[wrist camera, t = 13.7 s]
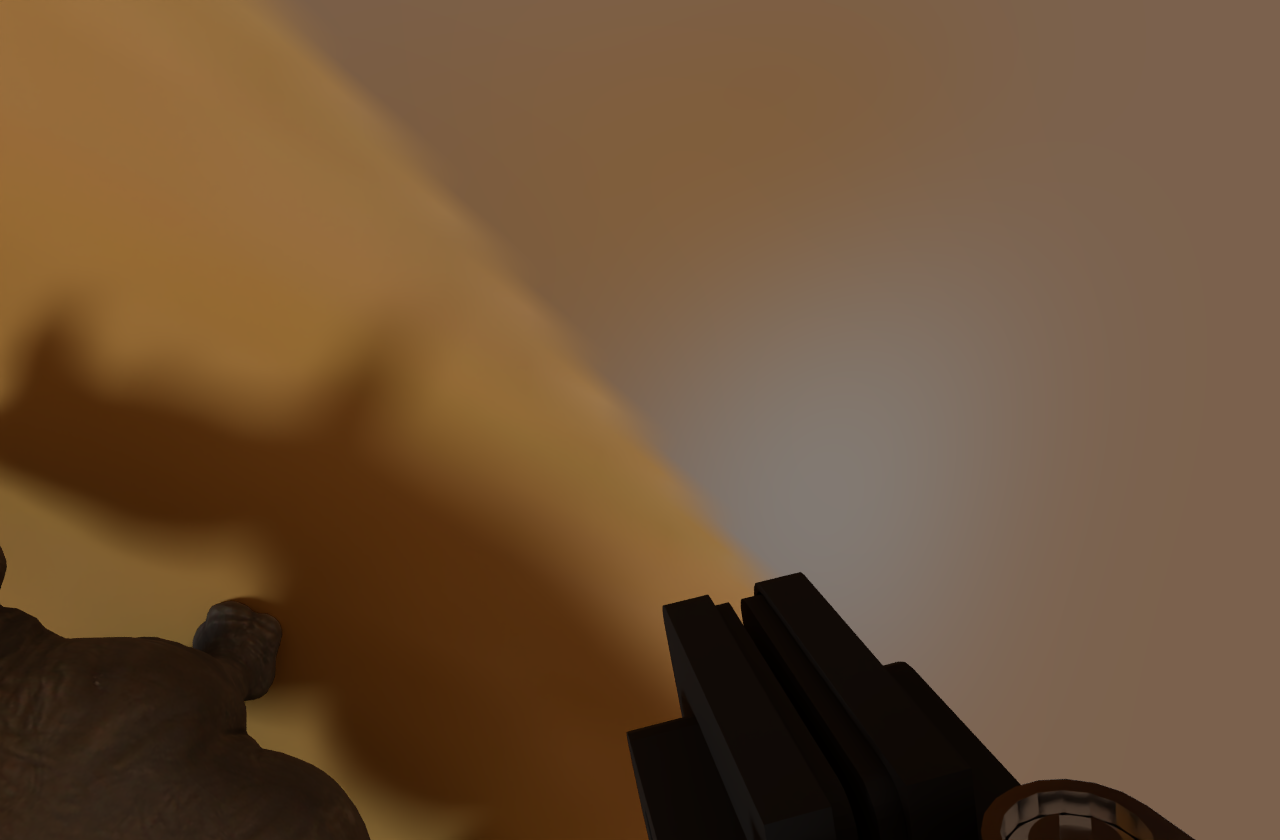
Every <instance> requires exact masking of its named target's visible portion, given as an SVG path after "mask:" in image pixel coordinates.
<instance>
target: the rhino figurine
mask: <svg viewBox="0 0 1280 840" xmlns="http://www.w3.org/2000/svg"><path fill="white" fill-rule="evenodd" d="M6 568H7V565H6V558H5V556H4V553H3V551H2V548H1V547H0V588H1V585H2V582H3V580H4V576H5V572H6ZM281 637H282V631H281V626H280V624H279V622H278V621H277V620H276V619H275V618H274V617H272V616H270V615H268V614H262V613H255V612H253V611H252V610H251V609H250V608H249V607H248V606H246V605H243V604H241V603H238V602H234V601H228V602H223V603H219V604H216V605H214V606H212V607H211V608H210V610H209V612H208V614H207V618H206V621H205V622H204V623H202V624H201V625H200V626H199V628H198V629H197V631H196V633H195V636H194V639H193V648H191V647H187V646H185V645H182V644H180V643H178V642H174V641H169V640H165V639H161V638H158V637H138V638H132V637H104V638H73V639H68V638H64V637H61V636H59V635H57V634H55V633H53V632H51V631H50V630H48V629H46V628H45V627H44V626H43V625H42V624H41V623H40V622H39V620H38V619H37V618H35V617H33V616H31V615H29V614H27V613H25V612H23V611H21V610H19V609H17V608H9V607H3V606H2V605H0V840H370V837H369V834H368V831H367V829H366V826H365V823H364V821H363V819H362V818H361V816H360V814H359V812H358V810H357V808H356V806H355V805H354V804H353V802H352V801H351V800H350V798H349V797H348V796H347V794H346V793H345V792H344V790H343V789H342V788H341V787H340V786H339V784H338V783H337V782H336V781H335V780H333V779H332V778H331V777H330V776H329V775H327V774H326V773H325V772H324V771H322V770H320V769H319V768H317V767H315V766H314V765H312V764H310V763H307V762H305V761H303V760H300V759H298V758H295V757H292V756H290V755H287V754H284V753H281V752H277V751H272V750H267V749H263V748H261V747H260V746H259V744H258V743H257V742H256V741H255V740H254V739H253V738H252V737H251V736H249V735H248V734H247V731H246V706H245V704H244V701H247V700H254V699H257V698H260V697H262V696H263V695H264V694H266V693H267V691H268V689H269V688H270V686H271V684H272V682H273V680H274V677H275V666H276V655H277V651H278V648H279V645H280V642H281Z"/></svg>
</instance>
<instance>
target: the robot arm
mask: <svg viewBox="0 0 1280 840" xmlns="http://www.w3.org/2000/svg"><path fill="white" fill-rule="evenodd" d="M662 610H663V618H664V624H665V629H666V635H667V640H668V645H669V650H670V656H671V661H672V666H673V671H674V676H675V682H676V687H677V692H678V697H679V703H680V708H681V713H682V718H679V719H675V720H671V721H667V722H663V723H659V724H656V725H652V726H648V727H644V728H640V729H636V730H632V731H629V732H627V739H628V744H629V750H630V754H631V759H632V764H633V769H634V774H635V778H636V783H637V788H638V793H639V797H640V802H641V807H642V811H643V816H644V820H645V824H646V829H647V833H648V837H649V840H1195V839H1193V838H1192V837H1191V836H1189V835H1188V834H1186V833H1185V832H1184V831H1182V830H1181V829H1179V828H1178V827H1177V826H1175V825H1173V824H1172V823H1171V822H1169V821H1168V820H1167V819H1165V818H1164V817H1162V816H1161V815H1160V814H1158V813H1157V812H1155V811H1154V810H1153V809H1151V808H1150V807H1148V806H1147V805H1145V804H1143V803H1141V802H1140V801H1138V800H1136V799H1134V798H1132V797H1131V796H1129V795H1127V794H1125V793H1123V792H1121V791H1118V790H1115V789H1112V788H1109V787H1106V786H1103V785H1100V784H1097V783H1092V782H1085V781H1077V780H1070V779H1056V780H1038V781H1034V782H1031V783H1027V784H1023V785H1020V784H1019V782H1018V781H1017V780H1016V779H1015V778H1014V777H1013V776H1012V775H1011V774H1010V773H1009V772H1008V771H1007V769H1006V768H1005V767H1004V766H1003V765H1002V764H1001V763H1000V762H999V761H998V760H997V759H996V758H995V756H994V755H993V754H992V753H991V752H990V751H989V750H988V749H987V748H986V747H985V746H984V745H983V744H982V743H981V741H979V739H978V738H977V737H976V736H975V735H974V734H973V733H972V732H971V731H970V729H969V728H968V727H967V726H966V725H965V724H964V723H963V722H962V721H961V720H960V719H959V718H958V717H957V715H956V714H955V713H954V712H953V711H952V710H951V709H950V708H949V707H948V706H947V705H946V704H945V703H944V701H943V700H942V699H941V698H940V697H939V696H938V695H937V694H936V693H935V692H934V691H933V690H932V688H931V687H929V685H928V684H927V683H926V682H925V681H924V680H923V679H922V678H921V677H920V675H919V674H918V673H917V672H916V671H915V670H914V669H913V668H912V667H911V666H909V665H908V664H907V663H906V662H895V663H891V664H888V665H884V666H883V665H882V664H881V663H880V662H879V661H878V659H877V658H876V657H875V656H874V655H873V654H872V653H871V651H870V650H869V649H868V648H867V647H866V646H865V645H864V643H863V642H862V641H861V640H860V639H859V638H858V636H856V634H855V633H854V632H853V631H852V629H851V628H850V627H849V626H848V625H847V624H846V623H845V621H844V620H843V619H842V618H841V617H840V616H839V614H838V613H837V612H836V611H835V610H834V609H833V607H832V606H831V605H830V604H829V603H828V602H827V601H826V599H825V598H824V597H823V596H822V595H821V594H820V592H818V590H817V589H816V588H815V587H814V586H813V584H812V583H811V582H810V581H809V580H808V579H807V578H806V576H805V575H804V574H802V573H801V572H799V573H795V574H791V575H787V576H782V577H778V578H774V579H770V580H766V581H762V582H758V583H755V586H754V596H752V597H748V598H744V599H741V612H742V619H743V624H742V622H741V621H740V619H739V617H738V616H737V614H736V613H735V611H734V609H733V608H732V606H731V605H730V603H729V602H728V603H724V604H720V605H716V606H715V605H714V603H713V601H712V600H711V598H710V597H709V595H704V596H700V597H696V598H692V599H688V600H684V601H680V602H676V603H672V604H667V605H663V609H662ZM743 625H744V626H743Z"/></svg>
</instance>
